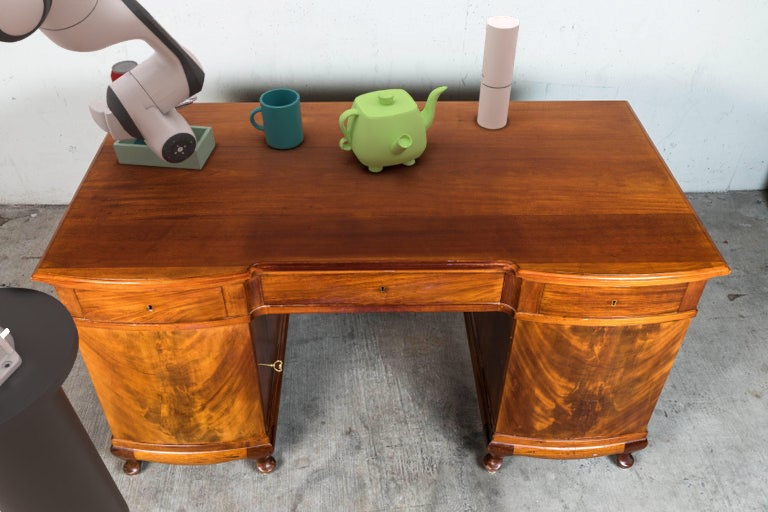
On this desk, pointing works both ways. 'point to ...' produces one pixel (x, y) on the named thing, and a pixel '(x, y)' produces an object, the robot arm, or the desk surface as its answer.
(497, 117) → the cylindrical container
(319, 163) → the desk surface
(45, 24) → the robot arm
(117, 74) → the beverage can
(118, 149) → the divided storage tray
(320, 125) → the desk surface
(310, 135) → the desk surface
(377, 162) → the teapot
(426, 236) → the desk surface
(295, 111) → the cup
